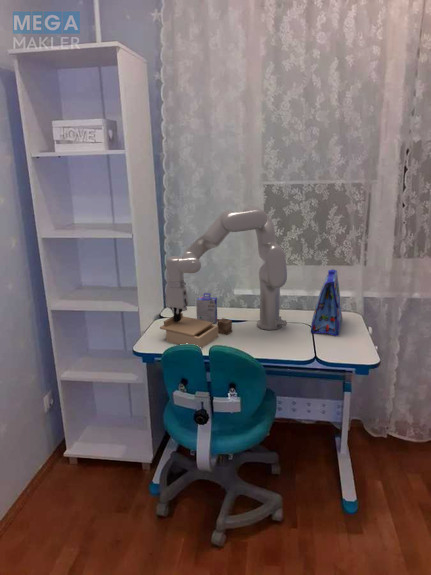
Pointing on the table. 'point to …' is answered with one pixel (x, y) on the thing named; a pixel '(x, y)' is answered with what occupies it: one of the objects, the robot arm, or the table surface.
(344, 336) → the table surface
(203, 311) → the ink cartridge box
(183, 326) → the lid
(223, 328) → the walnut block
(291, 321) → the table surface
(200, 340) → the mailer box
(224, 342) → the table surface
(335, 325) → the lunch bag
